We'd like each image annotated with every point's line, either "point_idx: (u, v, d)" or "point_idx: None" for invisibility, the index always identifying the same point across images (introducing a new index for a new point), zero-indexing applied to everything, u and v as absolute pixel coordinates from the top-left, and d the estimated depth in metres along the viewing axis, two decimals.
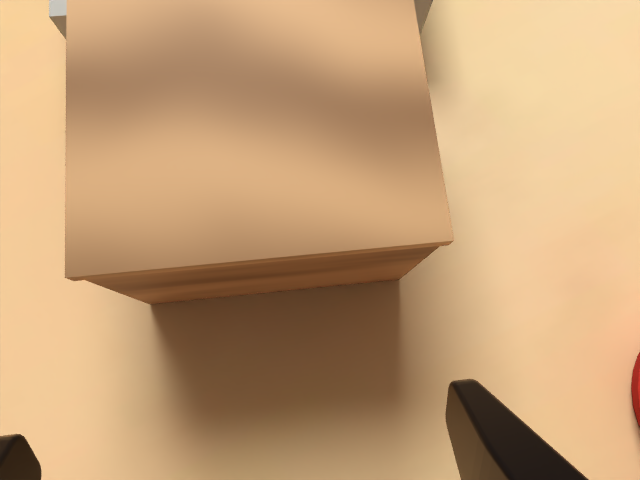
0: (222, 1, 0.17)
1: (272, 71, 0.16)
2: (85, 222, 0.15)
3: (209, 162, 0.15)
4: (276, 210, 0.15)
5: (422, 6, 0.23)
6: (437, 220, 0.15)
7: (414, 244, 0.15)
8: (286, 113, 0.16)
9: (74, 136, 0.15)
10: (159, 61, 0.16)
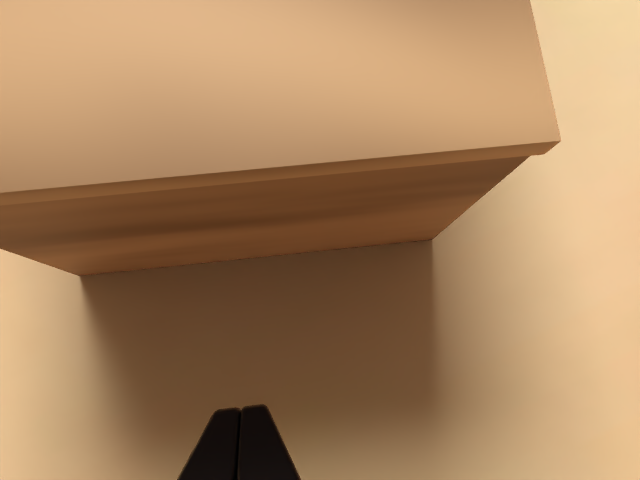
0: None
1: None
2: None
3: (125, 7, 0.09)
4: (244, 88, 0.09)
5: None
6: (530, 105, 0.09)
7: (491, 147, 0.08)
8: None
9: None
10: None
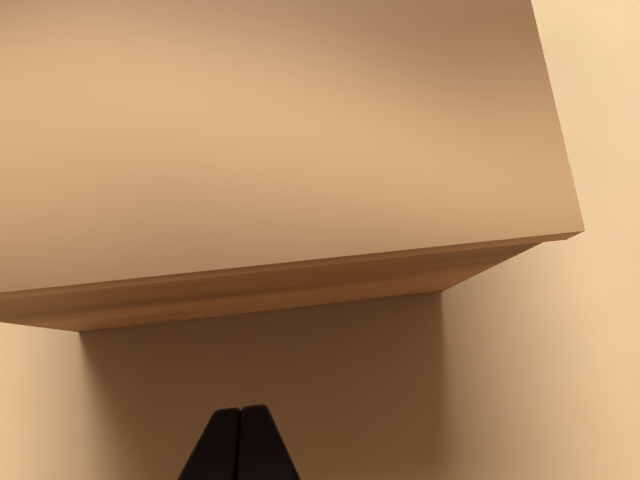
0: None
1: None
2: None
3: (126, 90, 0.08)
4: (251, 177, 0.08)
5: None
6: (552, 193, 0.08)
7: (511, 238, 0.08)
8: (269, 4, 0.09)
9: None
10: None
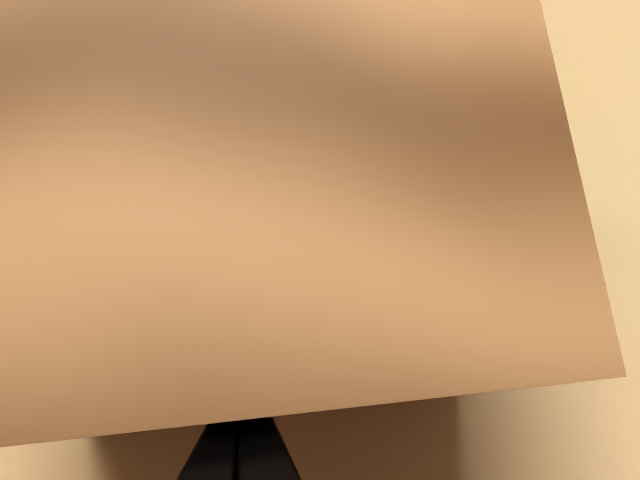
0: None
1: (265, 41, 0.09)
2: None
3: (139, 217, 0.08)
4: (271, 315, 0.08)
5: None
6: (591, 334, 0.08)
7: (547, 384, 0.08)
8: (290, 121, 0.08)
9: None
10: (51, 23, 0.09)
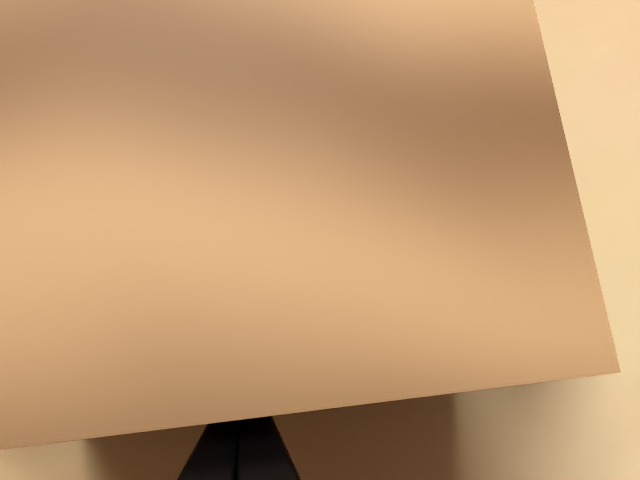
0: None
1: (253, 36, 0.09)
2: None
3: (127, 217, 0.08)
4: (261, 314, 0.07)
5: None
6: (584, 330, 0.08)
7: (541, 381, 0.07)
8: (279, 117, 0.08)
9: None
10: (35, 19, 0.08)
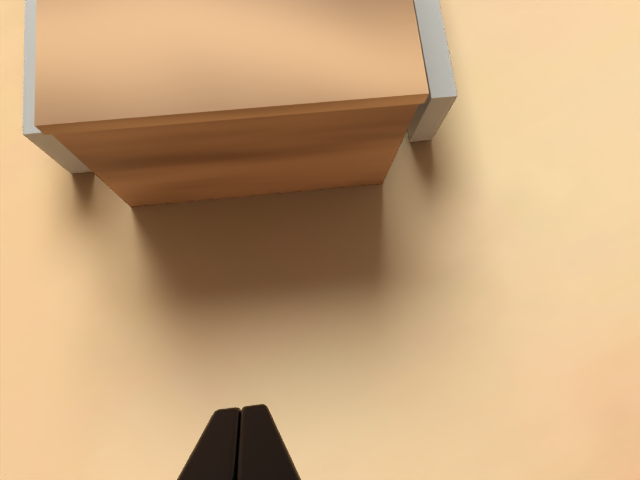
0: None
1: None
2: (55, 73, 0.15)
3: (181, 18, 0.15)
4: (249, 63, 0.15)
5: (441, 109, 0.20)
6: (412, 74, 0.15)
7: (389, 97, 0.15)
8: None
9: None
10: None
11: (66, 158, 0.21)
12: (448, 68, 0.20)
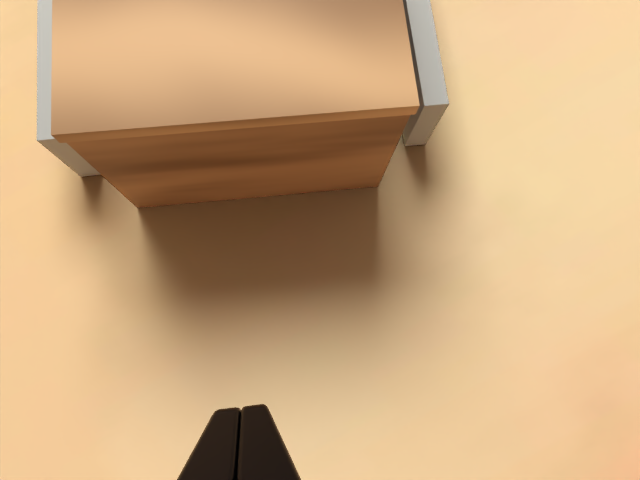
0: None
1: None
2: (70, 85, 0.16)
3: (188, 33, 0.16)
4: (251, 77, 0.16)
5: (433, 115, 0.21)
6: (404, 87, 0.16)
7: (382, 109, 0.16)
8: None
9: (60, 8, 0.16)
10: None
11: (77, 162, 0.22)
12: (440, 77, 0.21)
